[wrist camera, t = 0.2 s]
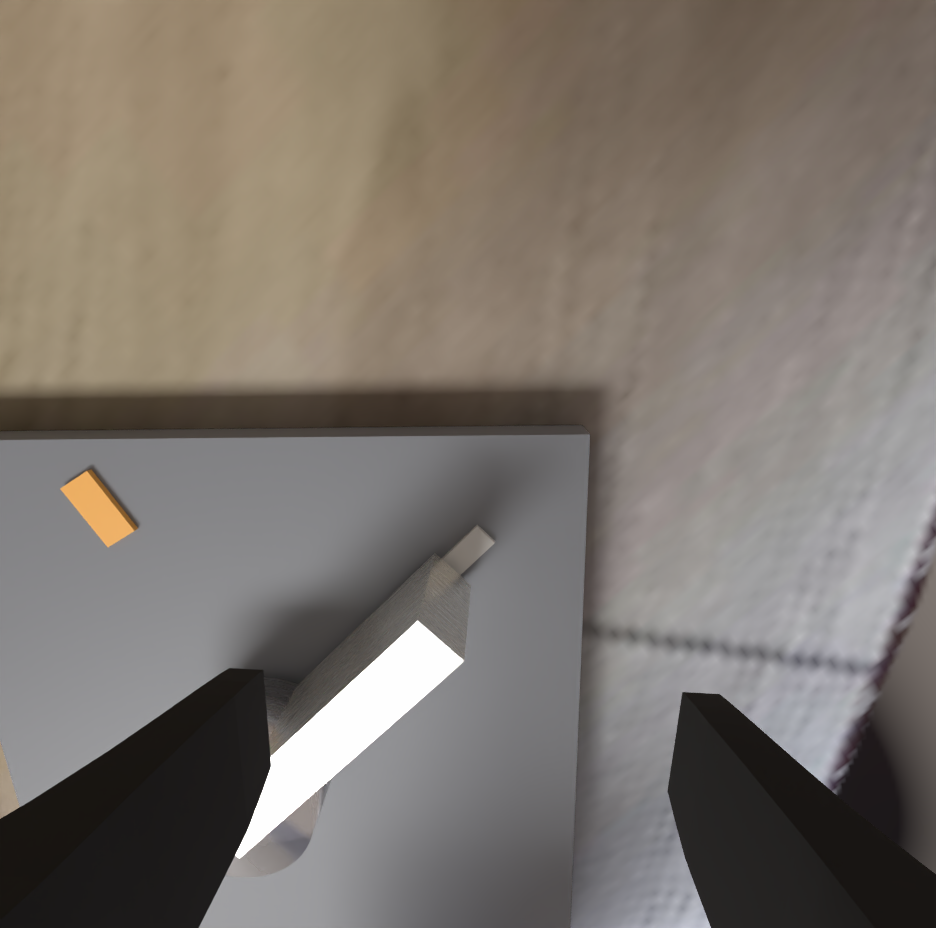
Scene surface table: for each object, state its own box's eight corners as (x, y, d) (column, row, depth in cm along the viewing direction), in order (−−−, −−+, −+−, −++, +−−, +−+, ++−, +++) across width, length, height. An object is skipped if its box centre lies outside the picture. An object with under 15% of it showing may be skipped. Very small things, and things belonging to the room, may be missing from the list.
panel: (564, 917, 24) (569, 961, 22) (83, 899, 25) (54, 940, 23) (582, 424, 18) (591, 435, 16) (-45, 431, 19) (-96, 442, 17)
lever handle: (284, 814, 20) (234, 932, 17) (179, 734, 20) (100, 839, 16) (508, 616, 18) (511, 702, 14) (396, 516, 17) (366, 576, 13)
